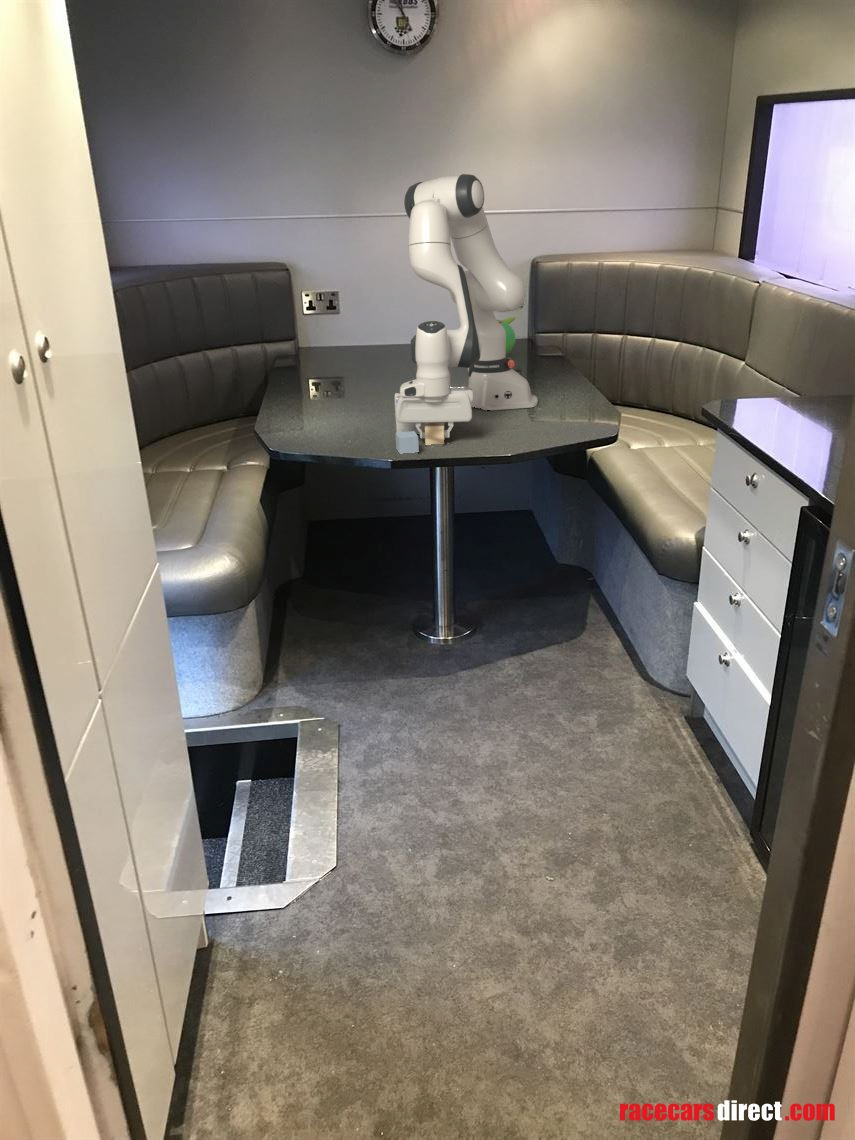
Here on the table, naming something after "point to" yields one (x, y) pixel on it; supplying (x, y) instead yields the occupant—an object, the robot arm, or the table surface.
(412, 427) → the light bulb box
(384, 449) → the table surface
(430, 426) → the maple block
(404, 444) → the light blue-gray block
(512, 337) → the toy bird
